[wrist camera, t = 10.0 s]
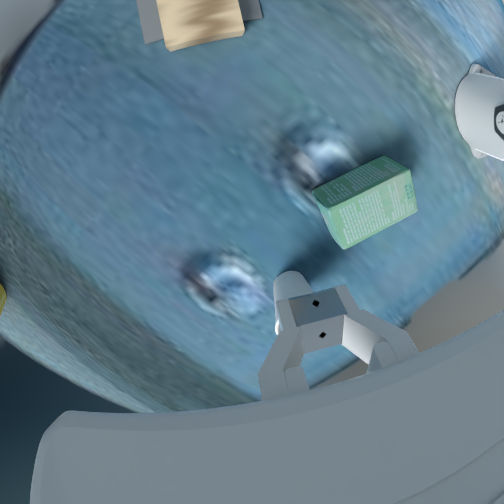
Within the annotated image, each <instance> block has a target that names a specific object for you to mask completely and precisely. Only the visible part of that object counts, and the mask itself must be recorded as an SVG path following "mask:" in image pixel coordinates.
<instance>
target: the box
mask: <svg viewBox="0 0 504 504" xmlns="http://www.w3.org/2000/svg"><path fill="white" fill-rule="evenodd" d="M312 193H313V196H314V198H315V200H316V202H317V204H318V207H319V209H320V211H321V213H322V216H323V218H324V220H325V223H326V225H327V227H328V230H329V232H330V234H331V236H332V237H333V238H334V240H335V241H336V242H337V244H338V245H339V246H340V247H341V248H342V249H348V248H350V247H351V246H353V245H355V244H357V243H359V242H361V241H363V240H365V239H366V238H368V237H370V236H372V235H374V234H376V233H378V232H380V231H382V230H384V229H385V228H387V227H389V226H391V225H393V224H395V223H397V222H399V221H401V220H402V219H404V218H406V217H408V216H410V215H412V214H413V213H415V212H417V211H418V210H417V204H416V197H415V192H414V186H413V181H412V176H411V171H410V169H408V168H406V167H405V166H403V165H401V164H400V163H398V162H396V161H395V160H393V159H391V158H389V157H388V156H386V155H384V156H381V157H379V158H377V159H375V160H372V161H370V162H368V163H366V164H363V165H361V166H359V167H357V168H355V169H353V170H351V171H349V172H347V173H345V174H343V175H341V176H339V177H337V178H335V179H333V180H331V181H329V182H327V183H325V184H323V185H321V186H319V187H317V188H315V189H313V190H312Z"/></svg>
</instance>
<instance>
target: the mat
mask: <svg viewBox="0 0 504 504" xmlns="http://www.w3.org/2000/svg"><path fill="white" fill-rule="evenodd" d="M136 1H137V7H138V12H139V17H140V22H141V27H142V32H143V37H144V42H145V44H149V43H152V42H155V41H158V40H161V39H164V36H163V31H162V26H161V21H160V17H159V12H158V7H157V2H156V0H136ZM238 3H239V7H240V11H241V15H242V20H243V21H248V20H256V19H262V18H263V17H262V13H261V8H260V4H259V0H238Z"/></svg>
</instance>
